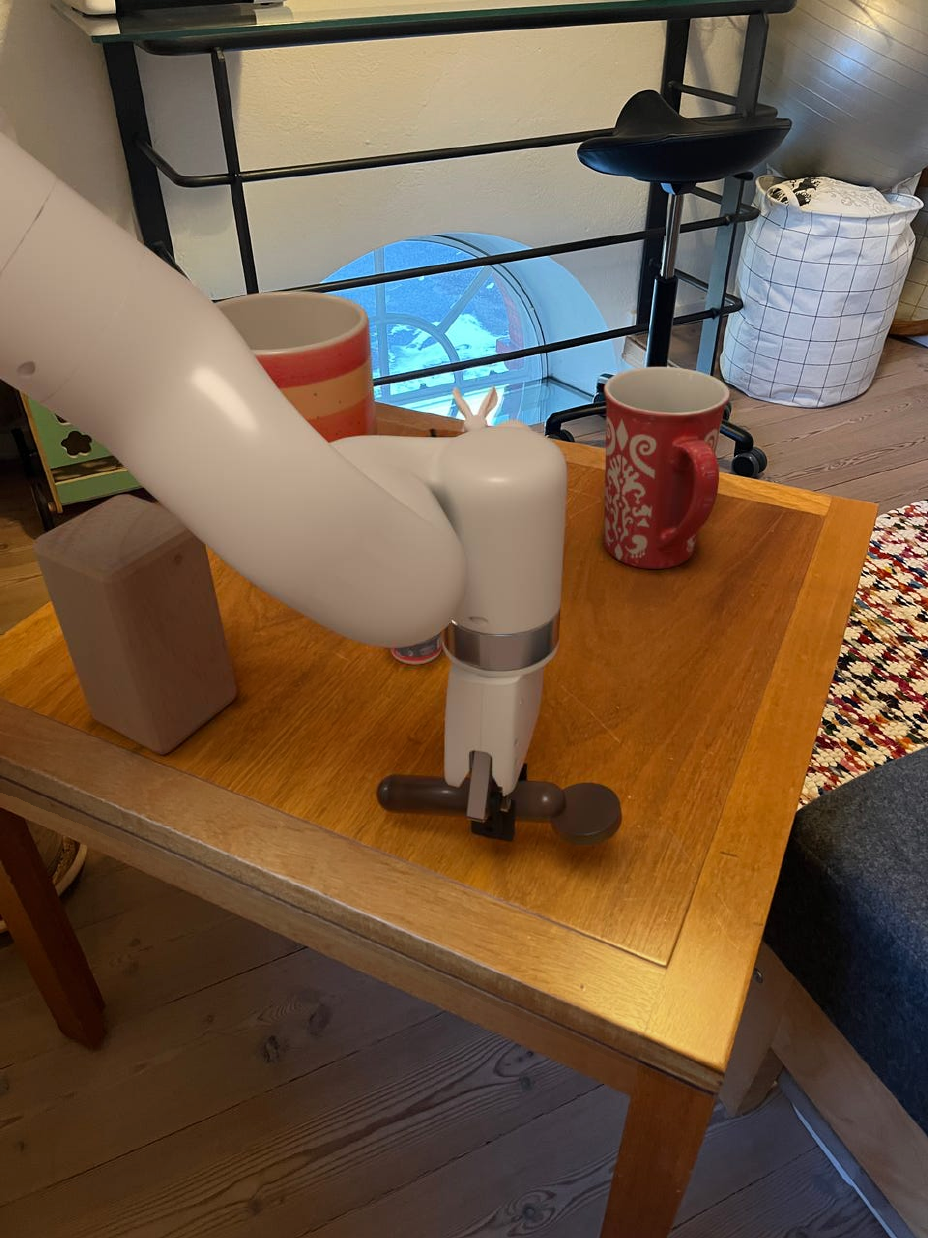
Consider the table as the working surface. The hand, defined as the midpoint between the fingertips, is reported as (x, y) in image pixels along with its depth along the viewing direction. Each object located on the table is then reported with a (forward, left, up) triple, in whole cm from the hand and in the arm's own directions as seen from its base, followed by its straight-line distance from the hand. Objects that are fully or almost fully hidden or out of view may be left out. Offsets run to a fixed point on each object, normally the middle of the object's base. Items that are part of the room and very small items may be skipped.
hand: (499, 815), depth 69 cm
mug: (+7, +47, -5) cm, 48 cm away
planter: (-34, +40, -5) cm, 53 cm away
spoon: (0, 0, 0) cm, 0 cm away
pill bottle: (-15, +23, -5) cm, 28 cm away
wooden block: (-35, +8, -5) cm, 36 cm away
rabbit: (-16, +61, -5) cm, 63 cm away
